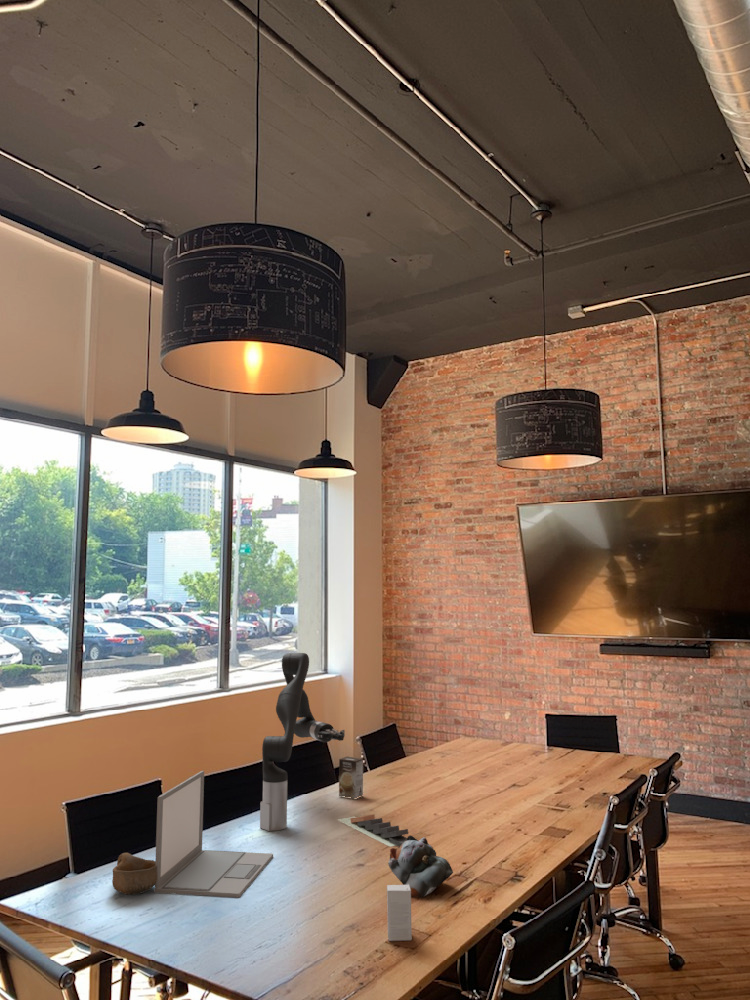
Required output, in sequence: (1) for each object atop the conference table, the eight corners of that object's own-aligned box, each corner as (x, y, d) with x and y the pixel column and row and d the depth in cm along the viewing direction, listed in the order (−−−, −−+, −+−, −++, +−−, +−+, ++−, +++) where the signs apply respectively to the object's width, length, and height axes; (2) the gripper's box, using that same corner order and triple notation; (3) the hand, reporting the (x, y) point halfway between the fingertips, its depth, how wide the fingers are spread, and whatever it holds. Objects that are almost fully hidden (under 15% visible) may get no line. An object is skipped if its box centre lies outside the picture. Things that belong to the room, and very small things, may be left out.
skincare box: (410, 933, 193) (410, 884, 195) (411, 941, 189) (411, 890, 190) (386, 933, 193) (386, 884, 195) (387, 941, 189) (387, 890, 190)
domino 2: (357, 821, 284) (370, 820, 276) (368, 819, 286) (382, 818, 279) (358, 826, 283) (371, 824, 276) (369, 824, 286) (382, 822, 278)
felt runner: (336, 820, 292) (336, 819, 292) (359, 816, 297) (359, 815, 297) (389, 847, 260) (389, 846, 260) (413, 842, 265) (413, 841, 265)
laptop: (239, 898, 217) (241, 800, 220) (153, 893, 221) (156, 796, 224) (273, 857, 251) (274, 773, 255) (198, 854, 255) (200, 770, 258)
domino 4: (372, 829, 274) (386, 827, 267) (384, 827, 277) (398, 825, 269) (373, 834, 274) (387, 832, 266) (385, 831, 276) (399, 830, 269)
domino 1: (350, 818, 288) (362, 816, 281) (361, 816, 291) (374, 814, 283) (350, 822, 288) (363, 820, 280) (362, 820, 290) (374, 818, 283)
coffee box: (338, 797, 327) (338, 758, 329) (346, 793, 333) (346, 756, 335) (355, 799, 322) (355, 761, 324) (363, 796, 328) (363, 758, 330)
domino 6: (389, 837, 265) (405, 845, 257) (401, 835, 268) (417, 842, 259) (389, 842, 265) (405, 850, 256) (401, 839, 267) (417, 847, 259)
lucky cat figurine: (418, 902, 213) (393, 848, 217) (398, 906, 223) (375, 854, 228) (462, 873, 222) (437, 822, 227) (441, 878, 232) (417, 829, 237)
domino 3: (364, 825, 279) (378, 823, 271) (376, 823, 282) (390, 821, 274) (365, 830, 278) (379, 828, 271) (377, 828, 281) (390, 826, 273)
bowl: (88, 886, 222) (98, 849, 225) (127, 886, 232) (136, 851, 235) (124, 900, 211) (134, 861, 215) (163, 899, 221) (172, 862, 225)
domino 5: (381, 833, 269) (395, 831, 262) (393, 831, 272) (407, 828, 264) (382, 838, 269) (396, 836, 261) (393, 836, 271) (408, 833, 264)
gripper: (307, 723, 314) (327, 729, 299) (335, 721, 321) (356, 726, 306) (307, 742, 313) (327, 749, 298) (335, 739, 320) (355, 745, 305)
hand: (341, 737), depth 302 cm, fingers closed
